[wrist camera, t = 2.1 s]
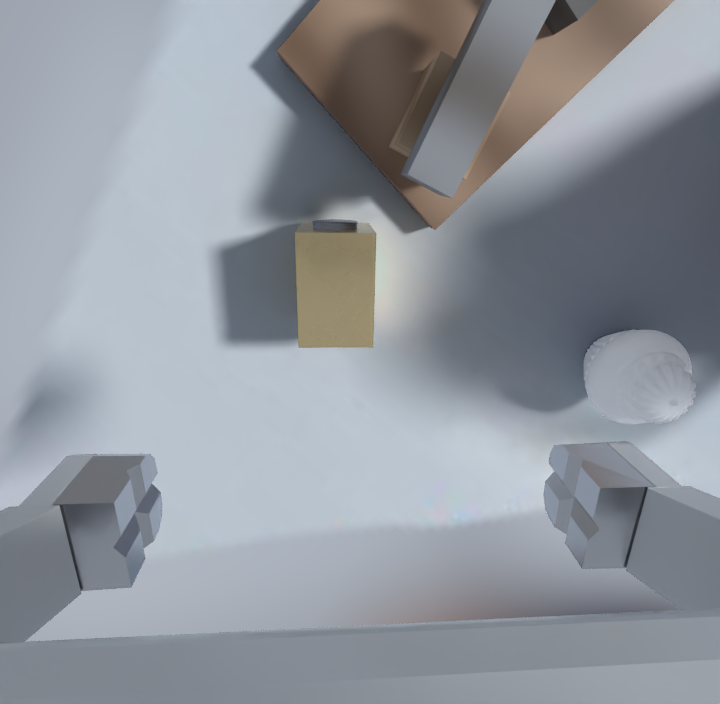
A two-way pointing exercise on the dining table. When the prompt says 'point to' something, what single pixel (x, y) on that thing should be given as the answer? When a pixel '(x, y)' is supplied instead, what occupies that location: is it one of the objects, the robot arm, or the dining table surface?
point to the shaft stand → (454, 79)
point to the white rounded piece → (639, 377)
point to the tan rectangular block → (335, 283)
